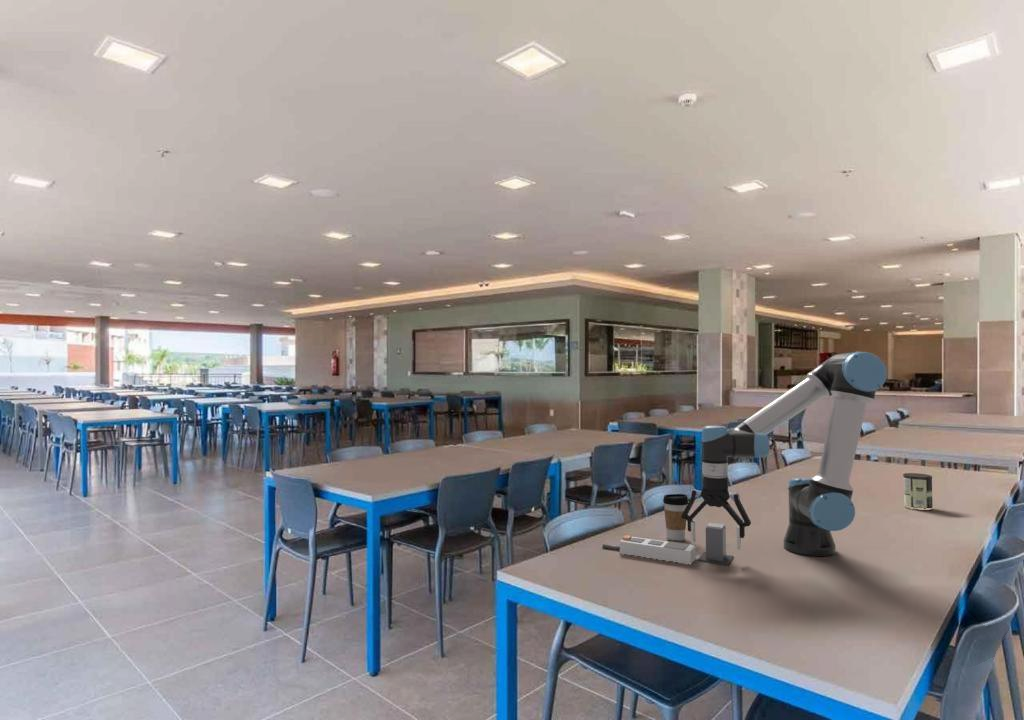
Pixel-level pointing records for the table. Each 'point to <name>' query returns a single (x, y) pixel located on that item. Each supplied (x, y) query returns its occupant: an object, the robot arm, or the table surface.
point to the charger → (716, 541)
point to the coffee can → (917, 490)
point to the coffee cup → (675, 515)
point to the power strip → (656, 549)
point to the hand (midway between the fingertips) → (715, 545)
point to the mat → (725, 562)
